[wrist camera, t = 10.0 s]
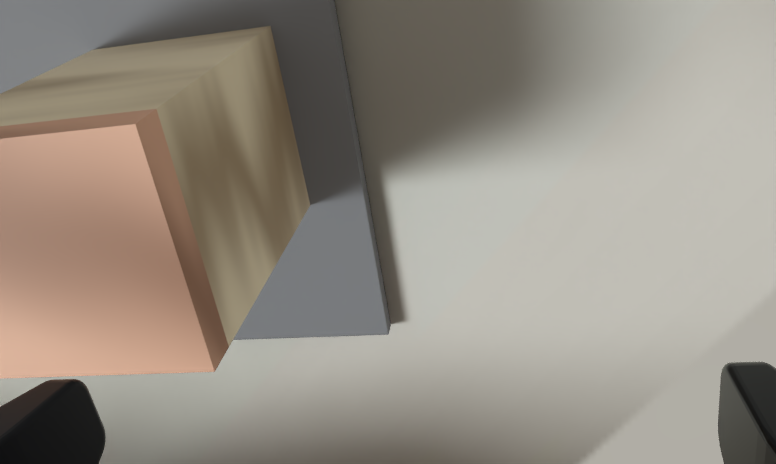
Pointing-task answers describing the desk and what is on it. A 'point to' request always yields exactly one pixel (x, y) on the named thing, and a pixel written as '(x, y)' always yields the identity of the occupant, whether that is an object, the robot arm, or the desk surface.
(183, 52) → the tall block
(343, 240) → the rubber mat
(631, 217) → the desk surface
